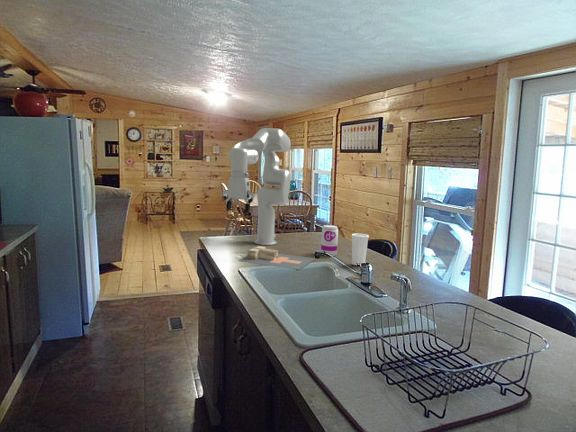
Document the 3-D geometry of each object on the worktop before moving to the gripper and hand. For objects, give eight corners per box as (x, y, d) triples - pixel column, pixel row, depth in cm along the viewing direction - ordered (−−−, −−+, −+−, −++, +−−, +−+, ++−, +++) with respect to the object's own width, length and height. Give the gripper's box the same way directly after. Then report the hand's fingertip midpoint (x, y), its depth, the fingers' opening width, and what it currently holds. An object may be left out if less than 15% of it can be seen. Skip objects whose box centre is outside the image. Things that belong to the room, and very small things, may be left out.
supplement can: (335, 257, 217) (337, 228, 215) (319, 256, 218) (321, 226, 216) (337, 254, 225) (339, 225, 223) (321, 252, 226) (323, 224, 224)
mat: (260, 251, 222) (260, 251, 222) (315, 259, 212) (315, 258, 212) (237, 261, 200) (237, 260, 200) (298, 270, 189) (298, 269, 189)
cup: (368, 264, 207) (370, 234, 205) (365, 267, 199) (367, 237, 197) (351, 262, 209) (353, 232, 207) (348, 265, 202) (349, 235, 200)
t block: (258, 253, 216) (258, 245, 216) (280, 256, 212) (281, 248, 211) (247, 258, 205) (247, 250, 204) (270, 261, 201) (271, 253, 200)
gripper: (259, 175, 204) (257, 211, 206) (227, 173, 211) (226, 208, 213) (251, 176, 197) (250, 213, 199) (219, 174, 204) (218, 210, 206)
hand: (238, 211), depth 206 cm, fingers open, 9 cm apart
